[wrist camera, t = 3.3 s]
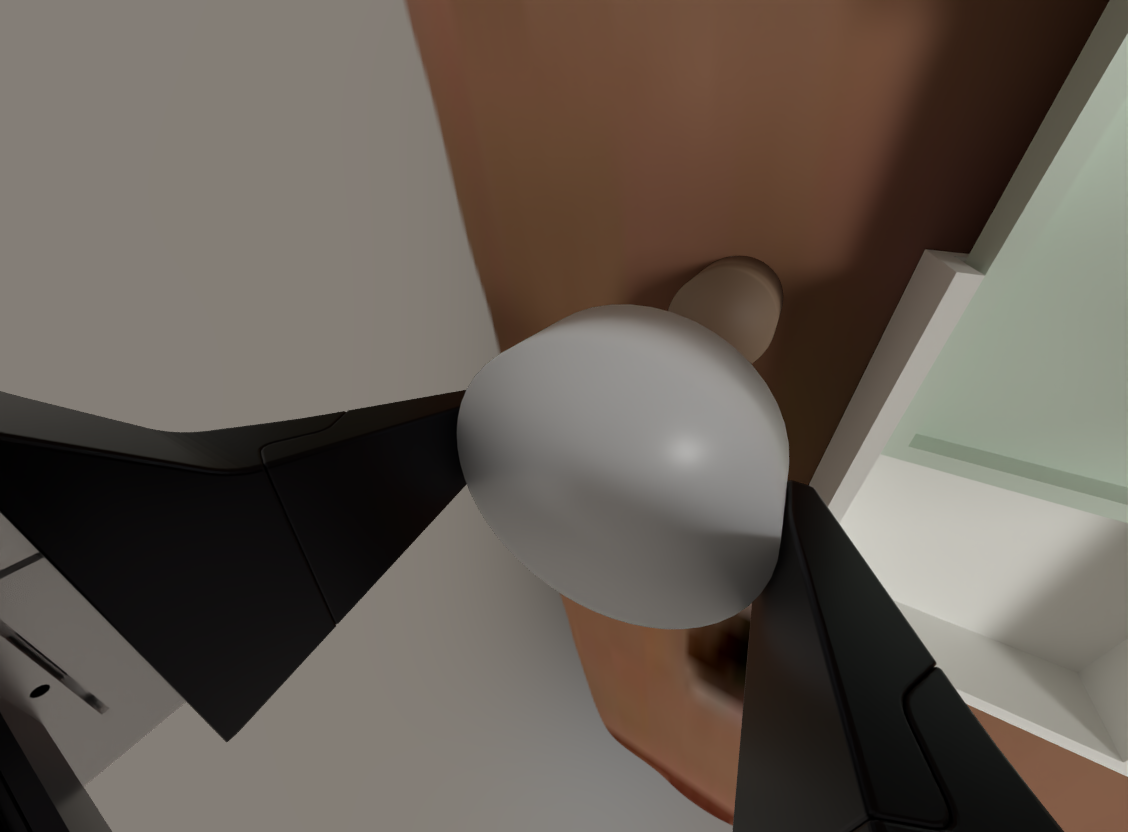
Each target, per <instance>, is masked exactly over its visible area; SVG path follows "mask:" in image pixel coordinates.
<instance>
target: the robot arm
mask: <svg viewBox="0 0 1128 832" xmlns="http://www.w3.org/2000/svg"><path fill="white" fill-rule="evenodd" d="M465 392H466V390H463V391H458V392H451V393H446V394H440V395H434V396H429V397H423V398H417V399H411V400H406V401H400V402H395V403H389V404H383V405H377V406H372V407H366V408H360V409H355V410H349V411H347V412H344V411H343V412H337V413H332V414H326V415H319V416H314V417H307V418H302V419H294V420H287V421H280V422H273V423H265V424H258V425H250V426H242V427H234V428H226V429H219V430H211V431H203V432H181V433H180V432H167V431H160V430H153V429H149V428H145V427H141V426H137V425H133V424H129V423H124V422H121V421H116V420H112V419H108V418H104V417H100V416H96V415H92V414H88V413H84V412H80V411H76V410H72V409H68V408H64V407H59V406H56V405H52V404H48V403H44V402H40V401H36V400H32V399H28V398H23V397H20V396H16V395H12V394H8V393H5V392H1V391H0V832H112V831H111V829H110V828H109V826H108V825H107V823H106V822H105V820H104V818H103V817H102V816H101V814H100V812H99V811H98V809H97V808H96V806H95V804H94V803H93V801H92V800H91V798H90V797H89V795H88V793H87V792H86V790H85V789H84V786H86V785H87V784H88V783H89V782H90V781H92V780H93V779H94V778H95V777H96V776H98V775H99V774H100V773H101V772H103V771H104V770H105V769H106V768H107V767H109V766H110V765H111V764H112V763H113V762H115V761H116V760H117V759H118V758H119V757H121V756H122V755H123V754H124V753H125V752H126V751H128V750H129V749H130V748H131V747H133V746H134V745H135V744H136V743H137V742H139V741H140V740H141V739H142V738H143V737H145V736H146V735H147V734H148V733H150V732H151V731H152V730H153V729H154V728H156V727H157V726H158V725H159V724H160V723H162V722H163V721H164V720H165V719H166V718H167V717H169V716H170V715H171V714H172V713H174V712H175V711H176V710H177V709H178V708H180V707H181V706H182V705H183V704H184V703H186V702H187V703H188V704H189V705H190V706H191V707H192V708H193V709H194V710H195V711H196V712H197V713H198V714H199V715H200V716H201V717H202V718H203V719H204V720H205V721H206V722H207V723H208V724H209V725H210V726H211V727H212V728H213V729H214V730H215V731H216V732H217V733H218V734H219V735H220V736H221V737H222V738H223V739H224V740H225V741H226V742H228V741H229V740H230V739H231V738H232V737H234V736H235V735H236V734H237V733H238V732H239V731H240V730H241V729H242V728H243V727H244V725H245V724H246V723H247V722H248V721H249V720H250V719H251V718H252V717H253V716H254V715H255V714H256V712H257V711H258V710H259V709H260V708H261V707H262V706H263V705H264V704H265V703H266V702H267V700H268V699H269V698H270V697H271V696H272V695H273V694H274V693H275V692H276V691H277V690H278V688H279V687H280V686H281V685H282V684H283V683H284V682H285V681H286V680H287V679H288V678H289V677H290V675H291V674H292V673H293V672H294V671H295V670H296V669H297V668H298V667H299V665H301V664H302V662H303V661H304V660H305V659H306V658H307V657H308V656H309V655H310V654H311V652H313V650H314V649H315V648H316V647H317V646H318V645H319V644H320V643H321V642H322V641H323V640H324V639H325V638H326V636H327V635H328V634H329V633H330V632H331V631H332V630H333V629H334V628H335V627H336V624H338V623H339V622H340V621H341V620H342V619H343V618H344V616H346V614H347V613H348V612H349V611H350V610H351V609H352V608H353V607H354V606H355V605H356V603H358V601H359V600H360V599H361V598H362V597H363V596H364V595H365V594H366V593H367V591H369V589H370V588H371V587H372V586H373V585H374V584H375V583H376V582H377V581H378V579H380V578H381V576H382V575H383V574H384V573H385V572H386V571H387V570H388V569H389V568H390V567H391V566H392V565H393V563H394V562H395V561H396V560H397V559H398V558H399V557H400V556H401V555H402V554H403V552H404V551H405V550H406V549H407V548H408V547H409V546H410V545H411V544H412V543H413V542H414V541H415V540H416V538H417V537H418V536H419V535H420V534H421V533H422V532H423V531H424V530H425V529H426V528H427V527H428V525H429V524H430V523H431V522H432V521H433V520H434V519H435V518H436V517H437V516H438V515H439V514H440V512H441V511H442V510H443V509H444V508H445V507H446V506H447V505H448V504H449V503H450V502H451V501H452V499H453V498H454V497H455V496H456V495H457V494H458V493H459V492H460V491H461V490H462V488H463V487H464V486H465V485H466V484H467V483H466V481H465V478H464V475H463V471H462V468H461V464H460V459H459V454H458V448H457V422H458V415H459V410H460V406H461V402H462V400H463V397H464V395H465ZM935 666H936V661H935V659H934V658H933V657H932V655H931V654H930V652H929V651H928V649H927V648H926V647H925V645H924V644H923V642H922V641H921V639H920V638H919V637H918V635H917V634H916V632H915V631H914V629H913V628H912V627H911V625H910V624H909V622H908V621H907V619H906V618H905V617H904V615H903V614H902V612H901V611H900V609H899V608H898V607H897V605H896V604H895V602H894V601H893V600H892V598H891V597H890V595H889V594H888V592H887V591H886V590H885V588H884V587H883V585H882V584H881V582H880V581H879V580H878V578H877V577H876V575H875V574H874V572H873V571H872V570H871V568H870V567H869V565H868V564H867V562H866V561H865V560H864V558H863V557H862V555H861V554H860V552H859V551H858V550H857V548H856V547H855V545H854V544H853V542H852V541H851V540H850V538H849V537H848V535H847V534H846V532H845V531H844V530H843V528H842V527H841V525H840V524H839V522H838V521H837V520H836V518H835V517H834V515H833V514H832V512H831V511H830V510H829V508H828V507H827V505H826V504H825V502H824V501H823V500H822V498H821V497H820V495H819V494H818V492H817V491H816V490H815V489H814V488H813V487H811V486H809V485H805V484H802V483H799V482H796V481H792V480H790V481H788V482H787V488H786V498H785V507H784V516H783V525H782V535H781V543H780V549H779V555H778V561H777V563H776V566H775V569H774V571H773V574H772V577H771V579H770V580H769V582H768V583H767V585H766V586H765V588H764V590H763V591H762V593H761V594H760V595H759V596H758V597H757V598H756V599H755V600H754V601H753V602H752V610H751V622H750V634H749V646H748V657H747V669H746V681H745V693H744V704H743V716H742V728H741V740H740V751H739V763H738V775H737V787H736V798H735V810H734V822H733V832H1064V831H1063V830H1062V828H1061V827H1060V826H1059V825H1058V823H1057V822H1056V821H1055V820H1054V819H1053V817H1052V816H1051V815H1050V814H1049V812H1048V811H1047V810H1046V808H1045V807H1044V806H1043V805H1042V803H1041V802H1040V801H1039V799H1038V798H1037V797H1036V796H1035V794H1034V793H1033V792H1032V791H1031V789H1030V788H1029V787H1028V785H1027V784H1026V783H1025V782H1024V780H1023V779H1022V778H1021V776H1020V775H1019V774H1018V773H1017V771H1016V770H1015V769H1014V767H1013V766H1012V765H1011V764H1010V762H1009V761H1008V760H1007V758H1006V757H1005V756H1004V755H1003V753H1002V752H1001V751H1000V750H999V748H998V747H997V746H996V744H995V743H994V741H993V740H992V739H991V737H990V736H989V735H988V733H987V732H986V730H985V729H984V728H983V726H982V725H981V724H980V722H979V721H978V719H977V718H976V717H975V715H974V714H973V713H972V711H971V710H970V709H969V707H968V706H967V704H966V703H965V702H964V700H963V699H962V698H961V696H960V695H959V693H958V692H957V690H956V689H955V688H954V686H953V685H952V683H951V682H950V680H949V679H948V678H947V676H946V675H945V673H944V672H943V670H942V669H941V668H939V667H935Z"/></svg>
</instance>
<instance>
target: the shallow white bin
mask: <svg viewBox="0 0 1128 832" xmlns="http://www.w3.org/2000/svg"><path fill="white" fill-rule="evenodd" d="M968 256H969V254H965V253H956V252H946V251H937V250H928V249H925V250H924V253H923V255H922V257H921V259H920V261H919V263H918V265H917V267H916V269H915V271H914V273H913V275H912V277H911V279H910V281H909V283H908V285H907V287H906V289H905V291H904V293H903V295H902V297H901V299H900V301H899V303H898V305H897V307H896V309H895V311H894V313H893V315H892V317H891V319H890V321H889V323H888V325H887V327H886V329H885V331H884V334H883V336H882V338H881V340H880V342H879V344H878V346H877V348H876V350H875V352H874V354H873V356H872V358H871V360H870V362H869V364H868V366H867V368H866V370H865V372H864V374H863V376H862V378H861V380H860V382H859V384H858V386H857V388H856V390H855V392H854V394H853V396H852V398H851V400H850V402H849V404H848V406H847V408H846V410H845V412H844V415H843V417H842V419H841V421H840V423H839V425H838V427H837V429H836V431H835V433H834V435H833V437H832V439H831V441H830V443H829V445H828V447H827V449H826V451H825V453H824V455H823V457H822V459H821V461H820V463H819V465H818V467H817V469H816V471H815V473H814V475H813V477H812V479H811V481H810V483H809V486H811V487H813V488H814V489H815V490H816V491H817V492H818V494H819V495H820V497H821V498H822V500H823V501H824V502H825V504H826V505H827V507H828V508H829V510H830V511H831V512H832V514H833V515H834V517H835V518H836V520H837V521H838V522H839V524H840V525H841V527H842V528H843V530H844V531H845V532H846V534H847V535H848V537H849V538H850V540H851V541H852V542H853V544H854V545H855V547H856V548H857V550H858V551H859V552H860V554H861V555H862V557H863V558H864V560H865V561H866V562H867V564H868V565H869V567H870V568H871V570H872V571H873V572H874V574H875V575H876V577H877V578H878V580H879V581H880V582H881V584H882V585H883V587H884V588H885V590H886V591H887V592H888V594H889V595H890V597H891V598H892V600H893V601H894V602H895V604H896V605H897V607H898V608H899V609H900V611H901V612H902V614H903V615H904V617H905V618H906V619H907V621H908V622H909V624H910V625H911V627H912V628H913V629H914V631H915V632H916V634H917V635H918V637H919V638H920V639H921V641H922V642H923V644H924V645H925V647H926V648H927V649H928V651H929V652H930V654H931V655H932V657H933V658H934V659H935V661H936V666H935V667H939V668H941V669H942V670H943V672H944V673H945V675H946V676H947V678H948V679H949V680H950V682H951V683H952V685H953V686H954V688H955V689H956V690H957V692H958V693H959V695H960V696H961V698H962V699H963V700H964V702H965V703H966V704H968V705H970V706H972V707H975V708H977V709H979V710H981V711H984V712H986V713H988V714H990V715H992V716H995V717H997V718H999V719H1001V720H1003V721H1006V722H1008V723H1010V724H1012V725H1015V726H1017V727H1019V728H1021V729H1023V730H1026V731H1028V732H1030V733H1032V734H1034V735H1037V736H1039V737H1041V738H1043V739H1045V740H1048V741H1050V742H1052V743H1054V744H1057V745H1059V746H1061V747H1063V748H1065V749H1068V750H1070V751H1072V752H1074V753H1076V754H1079V755H1081V756H1083V757H1085V758H1088V759H1090V760H1092V761H1094V762H1096V763H1099V764H1101V765H1103V766H1105V767H1107V768H1110V769H1112V770H1114V771H1116V772H1119V773H1121V774H1123V775H1125V776H1127V777H1128V523H1124V522H1121V521H1117V520H1114V519H1110V518H1106V517H1103V516H1099V515H1096V514H1092V513H1089V512H1085V511H1081V510H1078V509H1074V508H1071V507H1067V506H1064V505H1060V504H1056V503H1053V502H1049V501H1046V500H1042V499H1039V498H1035V497H1031V496H1028V495H1024V494H1021V493H1017V492H1014V491H1010V490H1006V489H1003V488H999V487H996V486H992V485H989V484H985V483H981V482H978V481H974V480H971V479H967V478H964V477H960V476H956V475H953V474H949V473H946V472H942V471H939V470H935V469H931V468H928V467H924V466H921V465H917V464H914V463H910V462H906V461H903V460H899V459H896V458H892V457H888V456H885V455H881V452H882V450H883V449H884V447H885V445H886V443H887V442H888V440H889V438H890V437H891V435H892V433H893V432H894V430H895V428H896V426H897V425H898V423H899V421H900V420H901V418H902V416H903V415H904V413H905V411H906V409H907V408H908V406H909V404H910V403H911V401H912V399H913V398H914V396H915V394H916V392H917V391H918V389H919V387H920V386H921V384H922V382H923V381H924V379H925V377H926V375H927V374H928V372H929V370H930V369H931V367H932V365H933V364H934V362H935V360H936V358H937V357H938V355H939V353H940V352H941V350H942V348H943V347H944V345H945V343H946V341H947V340H948V338H949V336H950V335H951V333H952V331H953V330H954V328H955V326H956V324H957V323H958V321H959V319H960V318H961V316H962V314H963V313H964V311H965V309H966V307H967V306H968V304H969V302H970V301H971V299H972V297H973V296H974V294H975V292H976V290H977V289H978V287H979V285H980V284H981V282H982V280H983V279H984V277H985V275H983V274H982V273H980V272H978V271H977V270H975V269H974V268H972V267H970V266H969V265H967V264H965V261H966V259H967V258H968Z"/></svg>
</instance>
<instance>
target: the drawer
mask: <svg viewBox="0 0 1128 832" xmlns="http://www.w3.org/2000/svg"><path fill="white" fill-rule="evenodd" d="M965 264H967V265H969V266H970V267H972V268H974V269H975V270H977V271H978V272H980V273H982V274H983V275H985V277H984V279H983V280H982V282H981V284H980V285H979V287H978V289H977V290H976V292H975V294H974V296H973V297H972V299H971V301H970V302H969V304H968V306H967V307H966V309H965V311H964V313H963V314H962V316H961V318H960V319H959V321H958V323H957V324H956V326H955V328H954V330H953V331H952V333H951V335H950V336H949V338H948V340H947V341H946V343H945V345H944V347H943V348H942V350H941V352H940V353H939V355H938V357H937V358H936V360H935V362H934V364H933V365H932V367H931V369H930V370H929V372H928V374H927V375H926V377H925V379H924V381H923V382H922V384H921V386H920V387H919V389H918V391H917V392H916V394H915V396H914V398H913V399H912V401H911V403H910V404H909V406H908V408H907V409H906V411H905V413H904V415H903V416H902V418H901V420H900V421H899V423H898V425H897V426H896V428H895V430H894V432H893V433H892V435H891V437H890V438H889V440H888V442H887V443H886V445H885V447H884V449H883V450H882V452H881V455H885V456H888V457H892V458H896V459H899V460H903V461H906V462H910V463H914V464H917V465H921V466H924V467H928V468H931V469H935V470H939V471H942V472H946V473H949V474H953V475H956V476H960V477H964V478H967V479H971V480H974V481H978V482H981V483H985V484H989V485H992V486H996V487H999V488H1003V489H1006V490H1010V491H1014V492H1017V493H1021V494H1024V495H1028V496H1031V497H1035V498H1039V499H1042V500H1046V501H1049V502H1053V503H1056V504H1060V505H1064V506H1067V507H1071V508H1074V509H1078V510H1081V511H1085V512H1089V513H1092V514H1096V515H1099V516H1103V517H1106V518H1110V519H1114V520H1117V521H1121V522H1124V523H1128V0H1110V1H1109V2H1108V4H1107V6H1106V8H1105V10H1104V11H1103V13H1102V15H1101V17H1100V19H1099V20H1098V22H1097V24H1096V26H1095V28H1094V30H1093V31H1092V33H1091V35H1090V37H1089V39H1088V40H1087V42H1086V44H1085V46H1084V48H1083V49H1082V51H1081V53H1080V55H1079V57H1078V58H1077V60H1076V62H1075V64H1074V66H1073V68H1072V69H1071V71H1070V73H1069V75H1068V77H1067V78H1066V80H1065V82H1064V84H1063V86H1062V87H1061V89H1060V91H1059V93H1058V95H1057V97H1056V98H1055V100H1054V102H1053V104H1052V106H1051V107H1050V109H1049V111H1048V113H1047V115H1046V116H1045V118H1044V120H1043V122H1042V124H1041V125H1040V127H1039V129H1038V131H1037V133H1036V135H1035V136H1034V138H1033V140H1032V142H1031V144H1030V145H1029V147H1028V149H1027V151H1026V153H1025V154H1024V156H1023V158H1022V160H1021V162H1020V163H1019V165H1018V167H1017V169H1016V171H1015V173H1014V174H1013V176H1012V178H1011V180H1010V182H1009V183H1008V185H1007V187H1006V189H1005V191H1004V192H1003V194H1002V196H1001V198H1000V200H999V201H998V203H997V205H996V207H995V209H994V211H993V212H992V214H991V216H990V218H989V220H988V221H987V223H986V225H985V227H984V229H983V230H982V232H981V234H980V236H979V238H978V239H977V241H976V243H975V245H974V247H973V249H972V250H971V252H970V254H969V256H968V258H967V259H966V261H965Z"/></svg>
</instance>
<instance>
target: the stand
mask: <svg viewBox="0 0 1128 832" xmlns="http://www.w3.org/2000/svg"><path fill="white" fill-rule="evenodd" d="M782 306H783V290H782V286H781V283H780V280H779V278H778V277H777V275H776V274H775V272H774V271H773V270H772V269H771V268H770V267H769V266H768V265H766V264H765V263H764V262H762V261H760V260H758V259H755V258H752V257H747V256H731V257H726V258H723V259H720V260H718V261H716V262H714V263H712V264H710V265H709V266H707V267H706V268H705V269H704V270H702V271H701V272H700V273H699V274H697V275H696V276H695V277H694V278H692V279H691V280H690V281H689V282H687V283H686V284H685V285H684V286H683V287H682V288H681V289H680V290H679V291H678V292H677V293H676V295H675V296H674V298H673V300H672V302H671V304H670V306H669V309H668V311H669V312H673V313H675V314H678V315H680V316H683V317H685V318H688V319H690V320H692V321H695V322H697V323H698V324H700V325H702V326H704V327H705V328H707V329H709V330H711V331H712V332H714V333H716V334H717V335H719V336H720V337H721V338H723V339H724V340H725V341H727V342H728V343H729V344H730V345H732V346H733V347H734V348H736V349H737V350H738V351H739V352H740V353H741V354H742V355H743V356H744V357H745V358H746V359H747V360H748V361H749V362H750V363H751V364H752V363H753V362H755V361H756V360H757V359H758V358H759V357H760V356H761V355H762V354H763V353H764V352H765V351H766V349H767V348H768V346H769V345H770V343H771V341H772V338H773V336H774V332H775V329H776V326H777V323H778V319H779V316H780V313H781V309H782Z"/></svg>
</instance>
